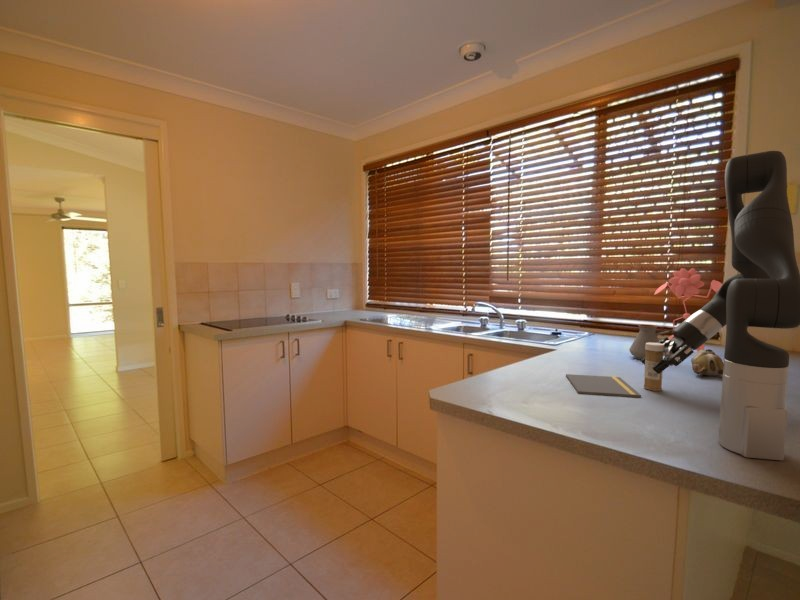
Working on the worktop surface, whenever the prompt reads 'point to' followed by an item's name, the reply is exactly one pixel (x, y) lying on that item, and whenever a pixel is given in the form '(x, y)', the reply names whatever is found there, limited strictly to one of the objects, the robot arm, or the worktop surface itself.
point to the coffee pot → (644, 340)
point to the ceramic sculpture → (707, 363)
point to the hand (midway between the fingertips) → (649, 367)
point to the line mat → (601, 385)
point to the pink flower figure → (687, 288)
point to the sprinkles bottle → (652, 358)
